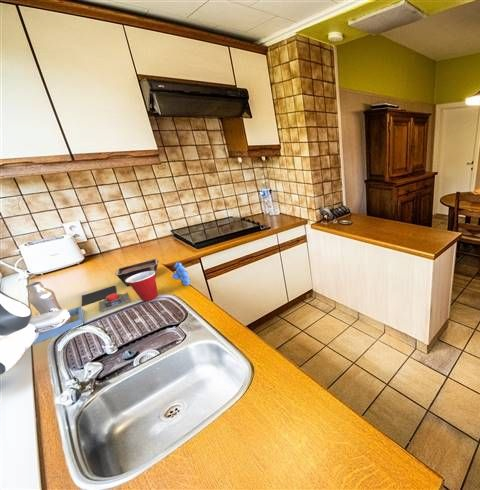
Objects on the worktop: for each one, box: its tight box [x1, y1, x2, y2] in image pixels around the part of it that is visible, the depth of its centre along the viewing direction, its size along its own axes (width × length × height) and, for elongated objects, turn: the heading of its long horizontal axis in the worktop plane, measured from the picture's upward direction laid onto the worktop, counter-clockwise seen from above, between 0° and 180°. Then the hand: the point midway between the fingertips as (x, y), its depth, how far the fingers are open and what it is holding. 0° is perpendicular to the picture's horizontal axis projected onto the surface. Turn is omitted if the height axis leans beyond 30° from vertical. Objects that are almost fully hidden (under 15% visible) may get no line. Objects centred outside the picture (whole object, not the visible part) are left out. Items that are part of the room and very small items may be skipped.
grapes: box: [171, 261, 191, 287], centre depth 129 cm, size 12×7×12 cm, turn 50°
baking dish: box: [114, 258, 159, 287], centre depth 139 cm, size 14×18×10 cm
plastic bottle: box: [25, 281, 71, 326], centre depth 102 cm, size 6×7×20 cm
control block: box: [98, 292, 131, 314], centre depth 119 cm, size 10×9×3 cm
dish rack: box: [32, 305, 85, 345], centre depth 106 cm, size 14×14×3 cm
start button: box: [106, 293, 118, 301], centre depth 118 cm, size 4×4×2 cm
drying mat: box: [81, 284, 118, 307], centre depth 126 cm, size 12×12×1 cm
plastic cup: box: [125, 271, 159, 302], centre depth 120 cm, size 11×11×12 cm
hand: (36, 314), depth 96 cm, fingers open, 8 cm apart
